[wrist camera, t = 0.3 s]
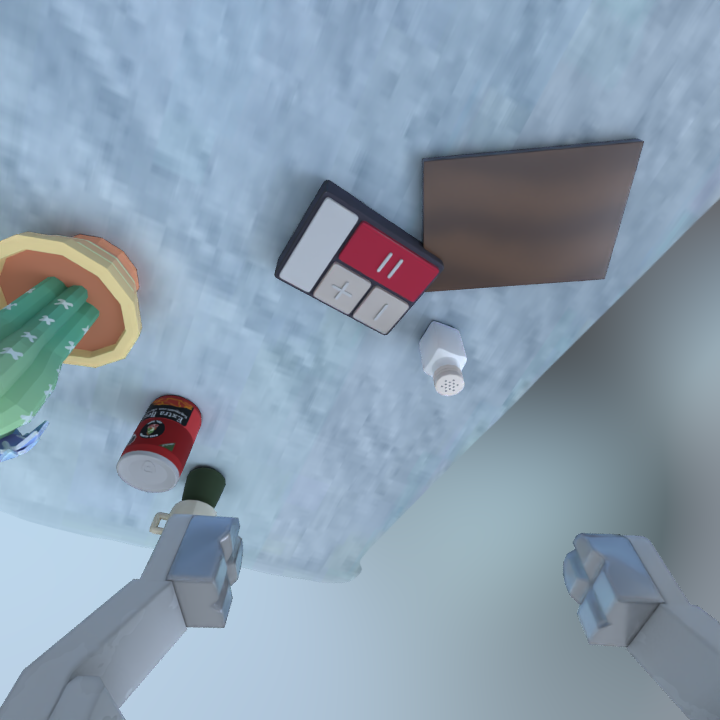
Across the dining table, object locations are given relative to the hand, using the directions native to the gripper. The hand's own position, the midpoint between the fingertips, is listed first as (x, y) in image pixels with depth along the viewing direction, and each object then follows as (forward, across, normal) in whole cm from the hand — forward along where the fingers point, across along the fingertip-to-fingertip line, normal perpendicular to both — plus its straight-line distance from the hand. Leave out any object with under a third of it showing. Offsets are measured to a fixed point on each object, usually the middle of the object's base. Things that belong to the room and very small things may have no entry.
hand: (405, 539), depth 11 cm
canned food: (+43, +28, +32) cm, 60 cm away
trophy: (+45, +26, +47) cm, 70 cm away
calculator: (+41, +2, +7) cm, 42 cm away
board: (+40, -15, +2) cm, 42 cm away
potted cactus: (+40, +32, +10) cm, 52 cm away
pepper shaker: (+42, -9, +16) cm, 46 cm away
